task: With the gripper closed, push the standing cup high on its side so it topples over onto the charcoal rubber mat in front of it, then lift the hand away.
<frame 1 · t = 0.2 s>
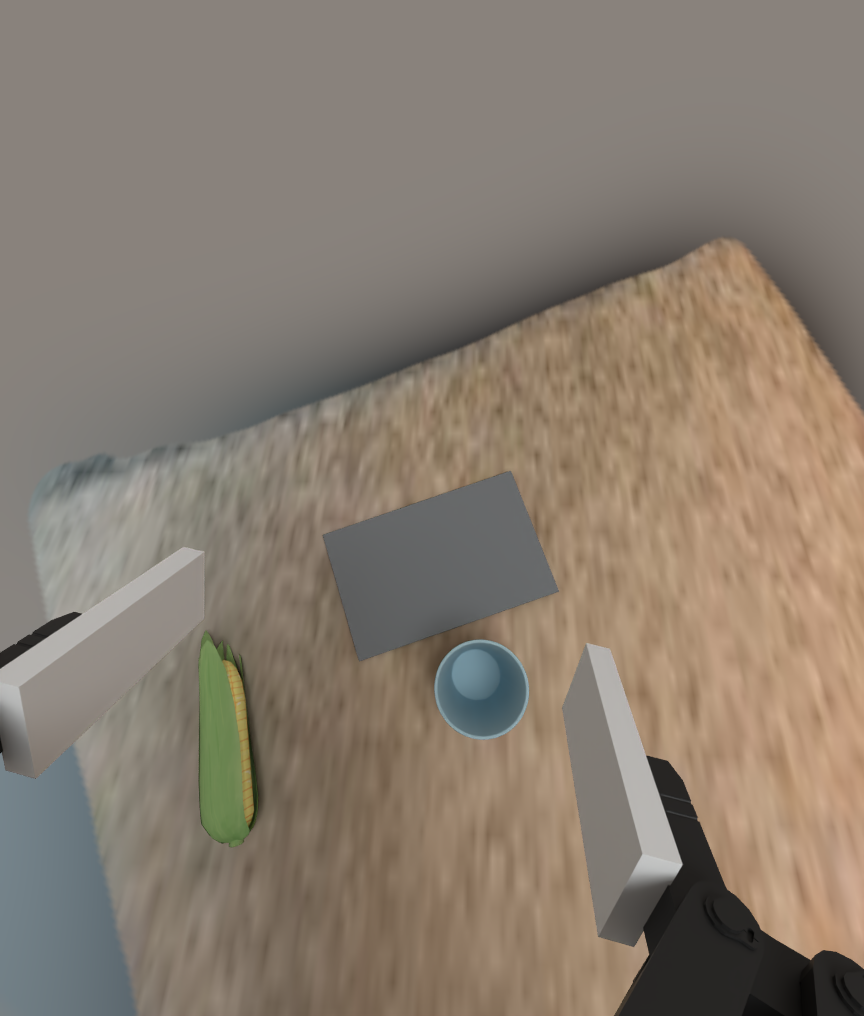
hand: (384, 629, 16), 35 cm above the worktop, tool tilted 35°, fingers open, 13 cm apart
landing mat: (438, 563, 51), on the worktop
edible corn: (237, 724, 49), on the worktop
cup: (475, 673, 49), on the worktop
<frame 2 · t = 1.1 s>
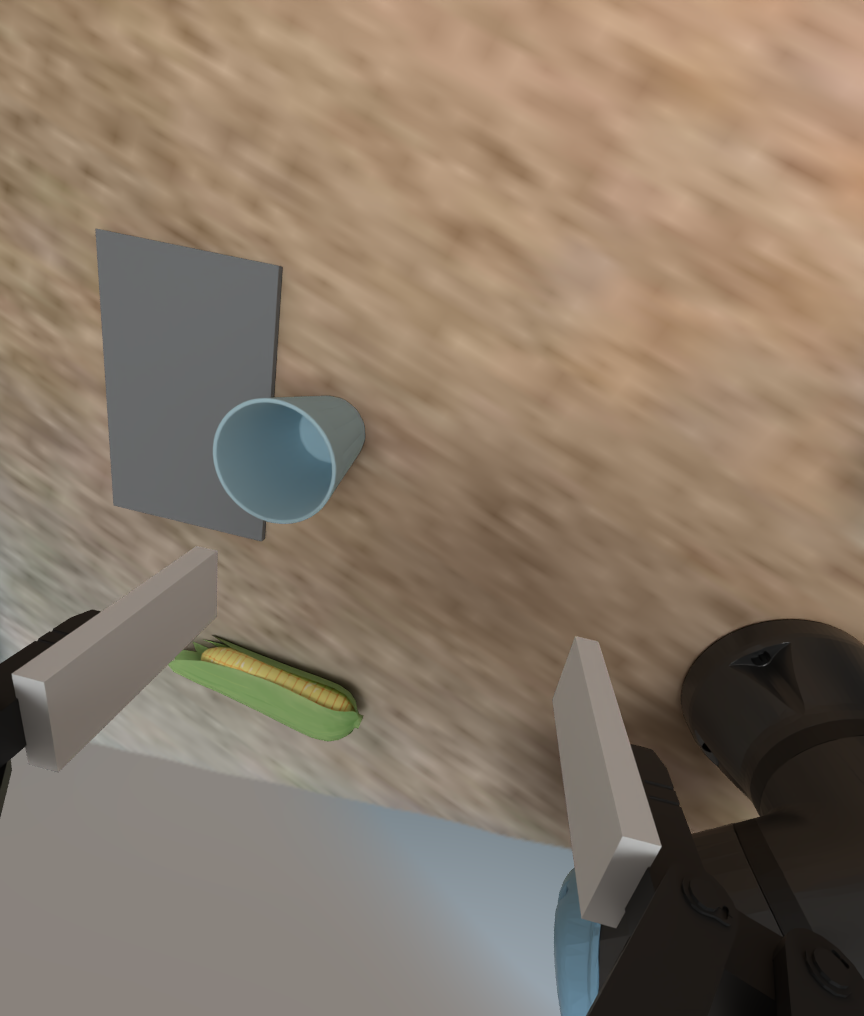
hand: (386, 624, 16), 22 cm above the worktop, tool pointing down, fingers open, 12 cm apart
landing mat: (191, 398, 38), on the worktop
edible corn: (276, 665, 47), on the worktop
cup: (333, 430, 38), on the worktop
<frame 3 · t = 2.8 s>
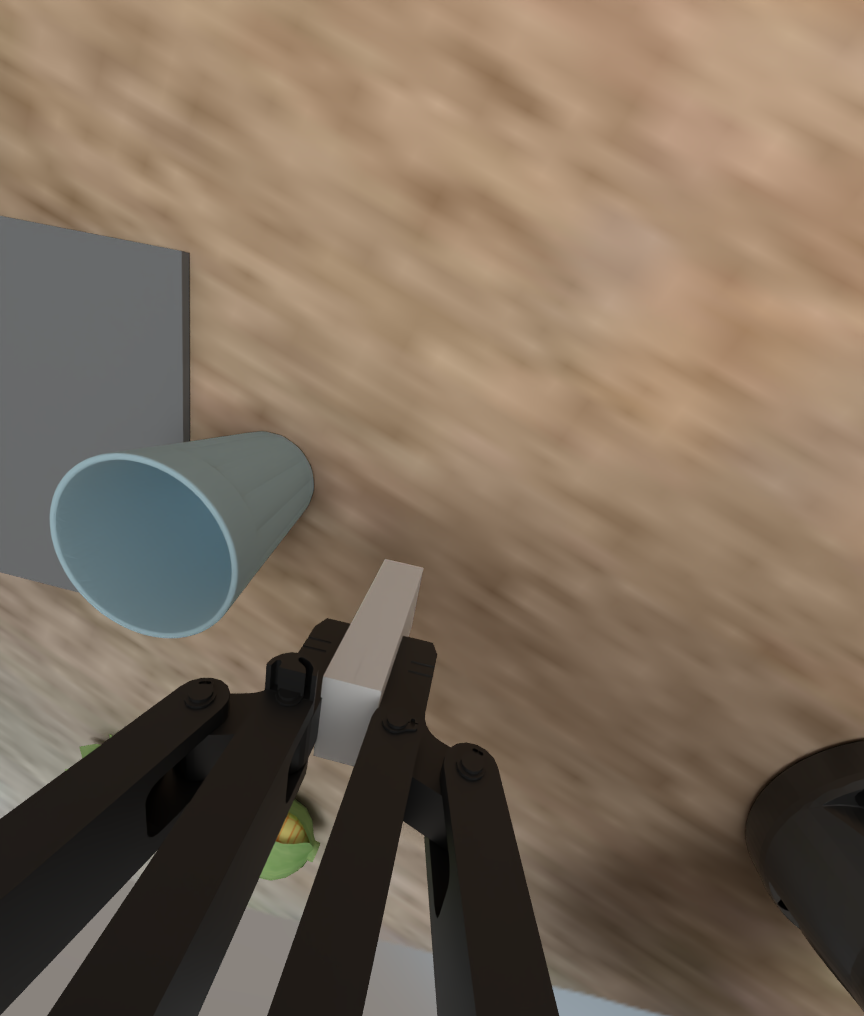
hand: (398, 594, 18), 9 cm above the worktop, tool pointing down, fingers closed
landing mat: (81, 434, 28), on the worktop
edible corn: (213, 767, 37), on the worktop
cup: (271, 476, 28), on the worktop
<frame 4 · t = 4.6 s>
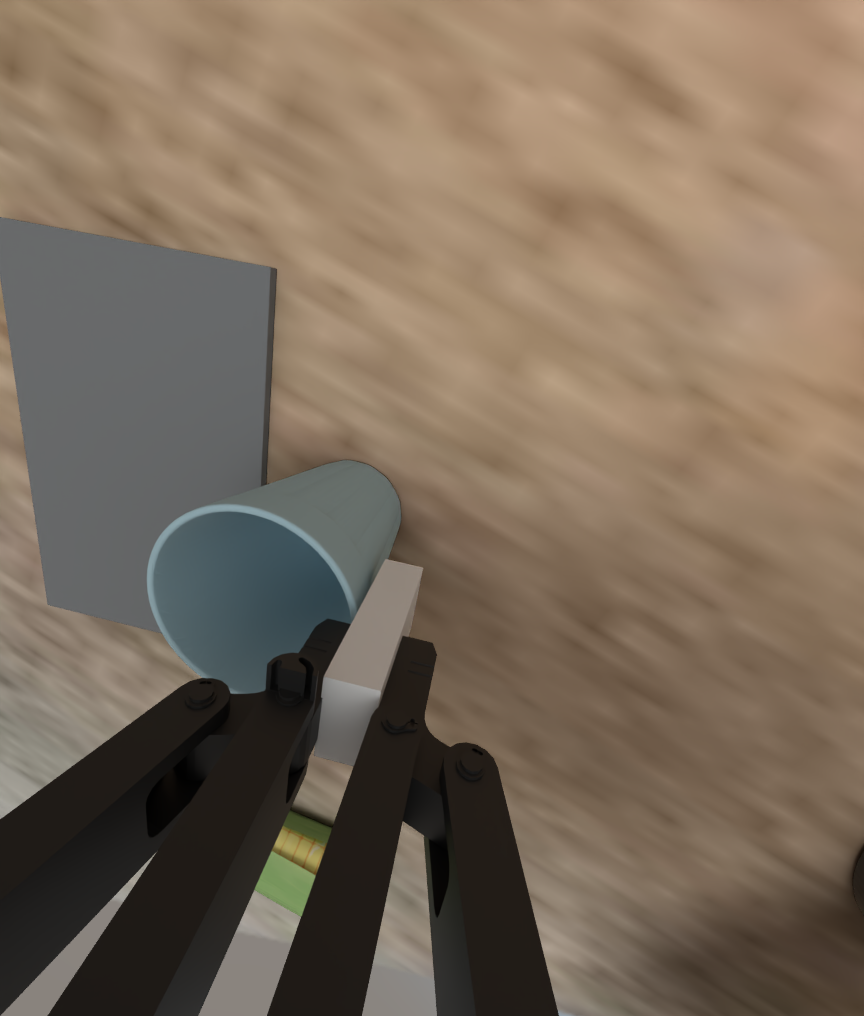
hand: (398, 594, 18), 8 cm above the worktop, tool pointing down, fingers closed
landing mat: (147, 462, 26), on the worktop
edible corn: (270, 805, 35), on the worktop
cup: (353, 507, 26), on the worktop, touching gripper
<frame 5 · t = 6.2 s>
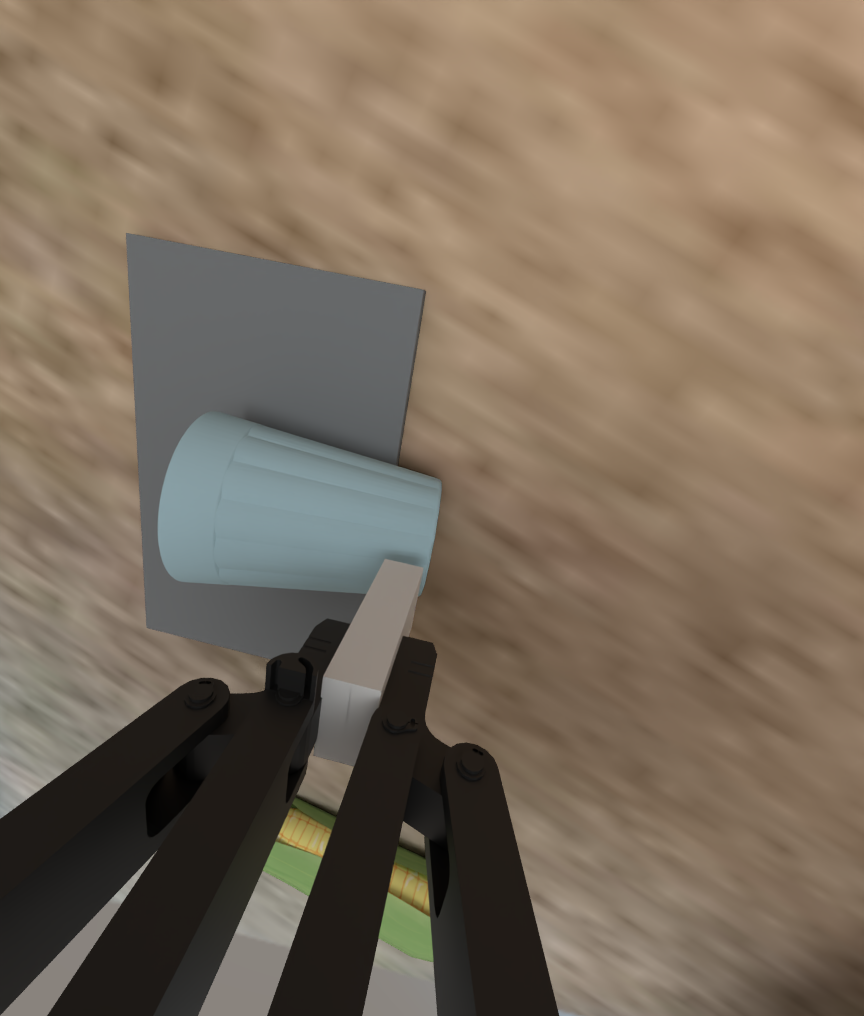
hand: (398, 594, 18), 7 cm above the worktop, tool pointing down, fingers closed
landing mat: (265, 485, 26), on the worktop
edible corn: (356, 830, 35), on the worktop
cup: (435, 538, 22), point 3 cm above the worktop, touching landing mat
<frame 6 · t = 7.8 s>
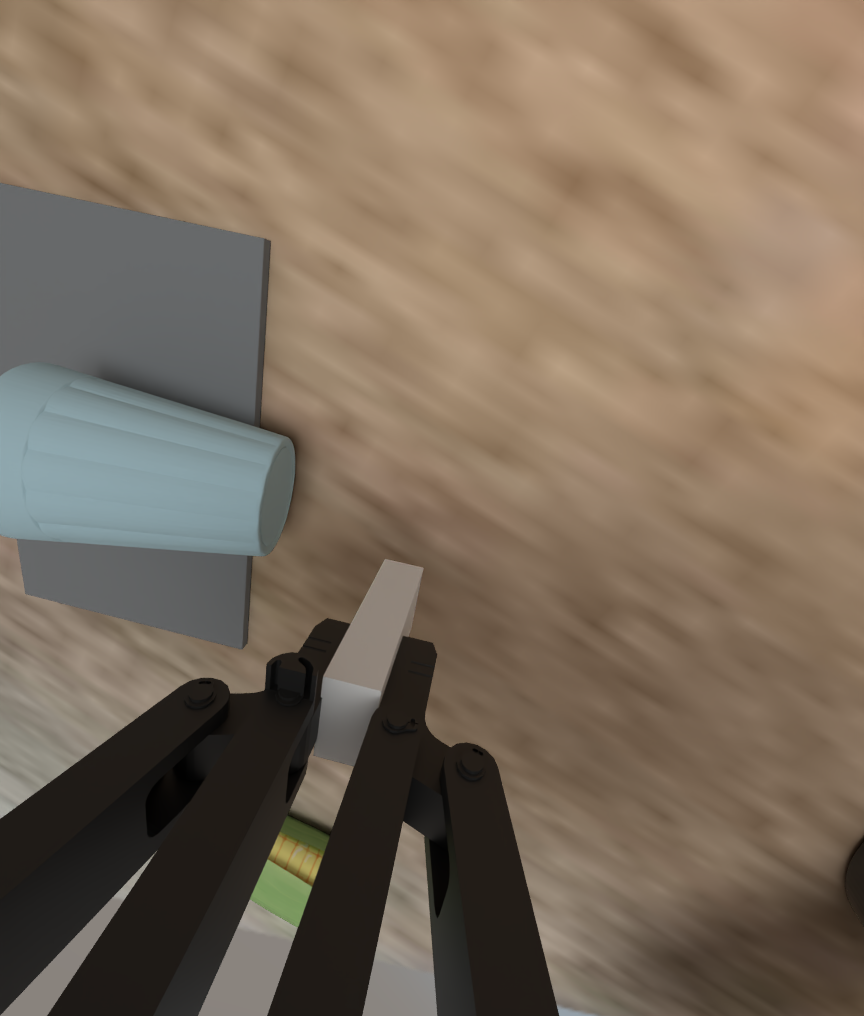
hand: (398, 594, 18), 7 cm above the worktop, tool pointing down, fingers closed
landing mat: (131, 446, 25), on the worktop
edible corn: (253, 802, 35), on the worktop
cup: (283, 497, 21), point 3 cm above the worktop, touching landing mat
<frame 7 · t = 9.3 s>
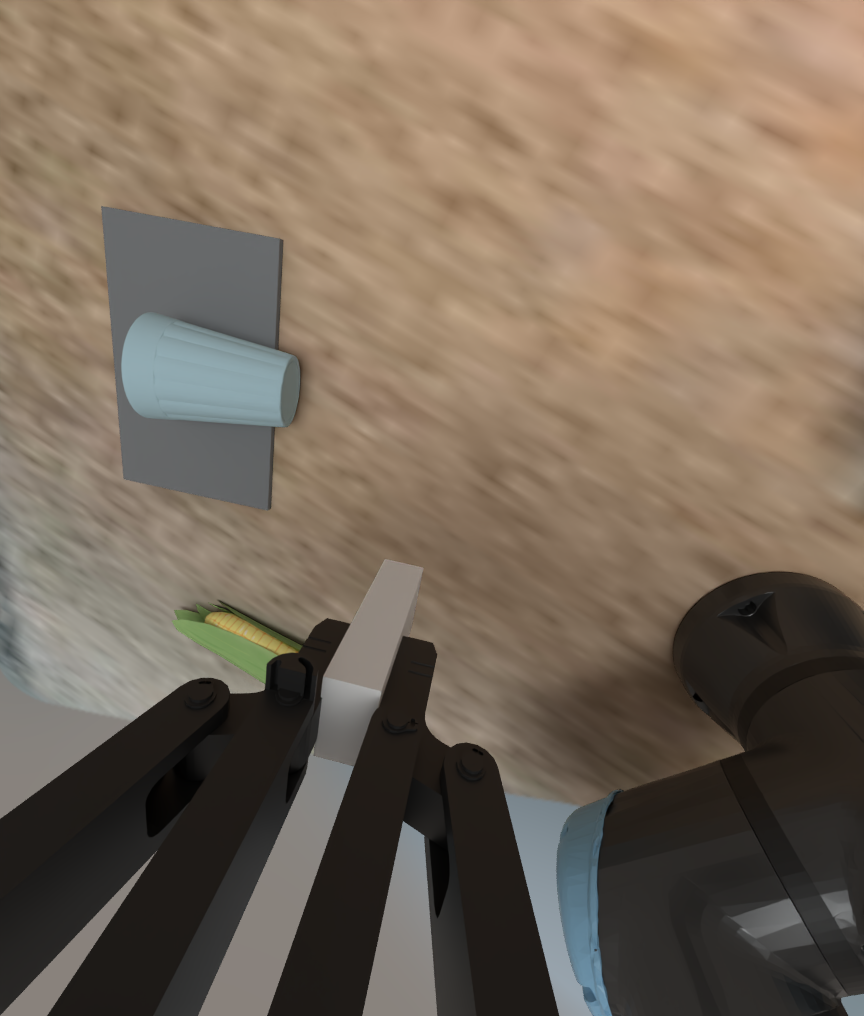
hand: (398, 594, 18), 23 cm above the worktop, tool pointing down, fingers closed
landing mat: (196, 372, 40), on the worktop
edible corn: (273, 636, 49), on the worktop
cup: (293, 392, 36), point 3 cm above the worktop, touching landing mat
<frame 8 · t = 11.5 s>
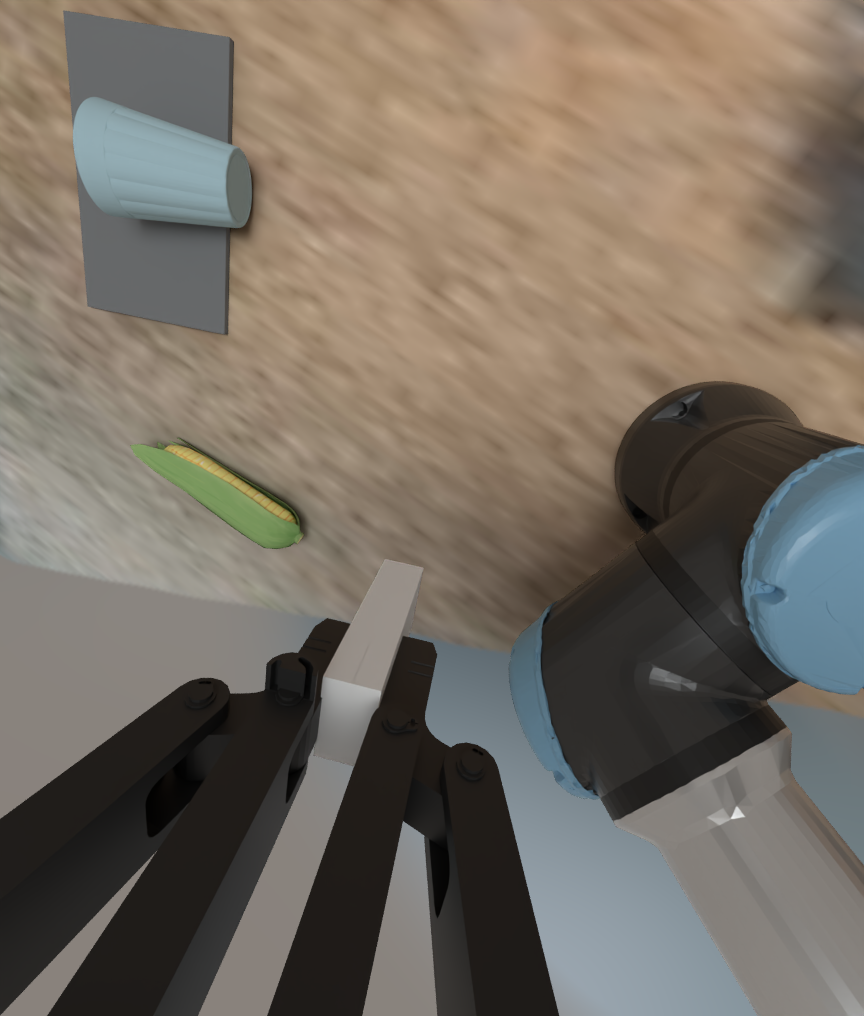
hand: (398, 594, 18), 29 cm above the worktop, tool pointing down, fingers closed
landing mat: (155, 188, 42), on the worktop
edible corn: (231, 479, 51), on the worktop
cup: (242, 189, 38), point 3 cm above the worktop, touching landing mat
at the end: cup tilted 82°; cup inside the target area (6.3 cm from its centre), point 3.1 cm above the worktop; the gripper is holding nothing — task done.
